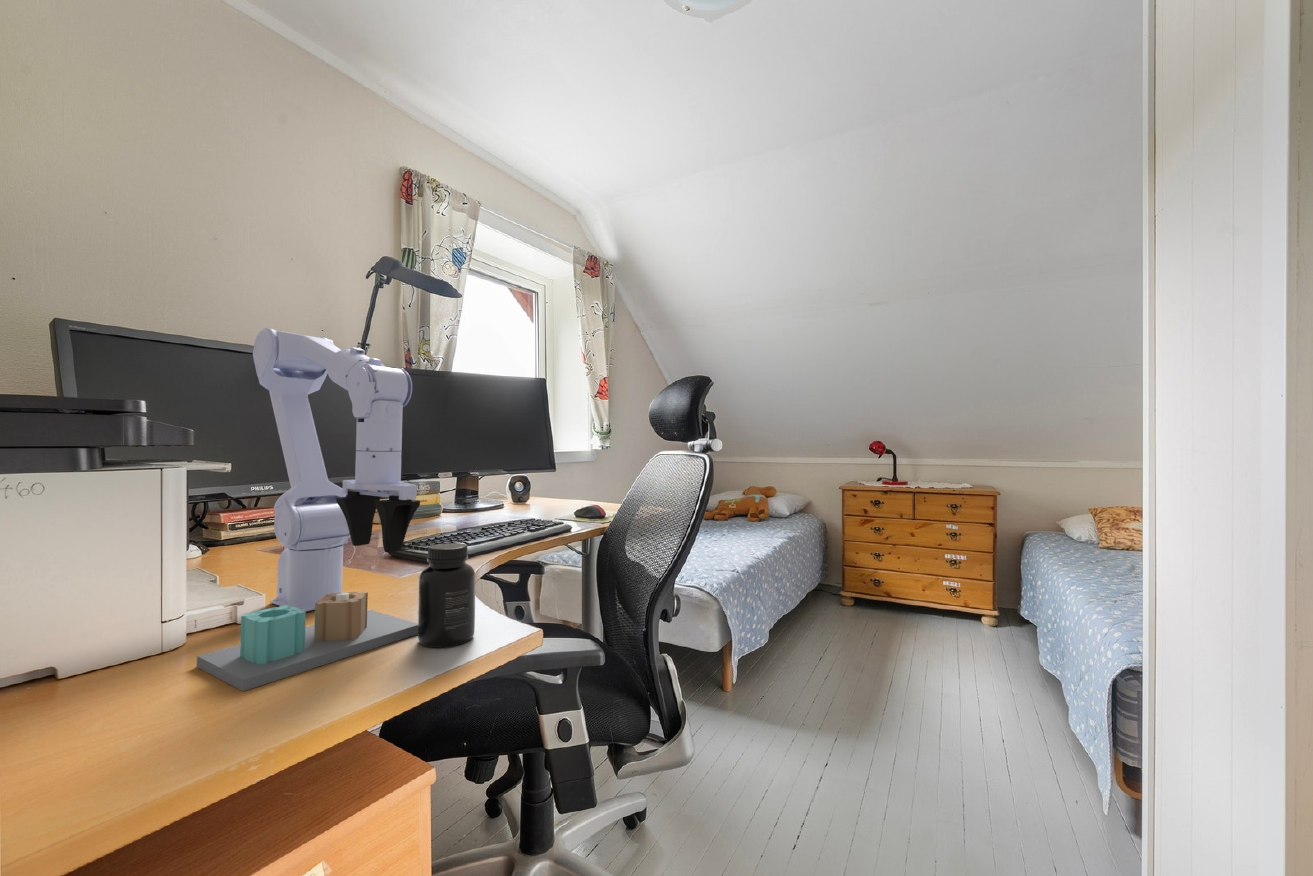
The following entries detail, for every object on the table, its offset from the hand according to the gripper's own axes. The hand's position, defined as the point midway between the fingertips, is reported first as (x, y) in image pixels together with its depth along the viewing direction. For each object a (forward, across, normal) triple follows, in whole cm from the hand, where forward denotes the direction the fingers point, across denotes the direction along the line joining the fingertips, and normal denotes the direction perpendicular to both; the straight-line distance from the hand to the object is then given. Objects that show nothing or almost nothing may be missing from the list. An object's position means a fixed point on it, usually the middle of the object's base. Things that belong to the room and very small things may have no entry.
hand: (376, 548), depth 75 cm
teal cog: (+9, +4, -14) cm, 18 cm away
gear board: (+10, +4, -9) cm, 14 cm away
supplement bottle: (+11, +14, +1) cm, 17 cm away
